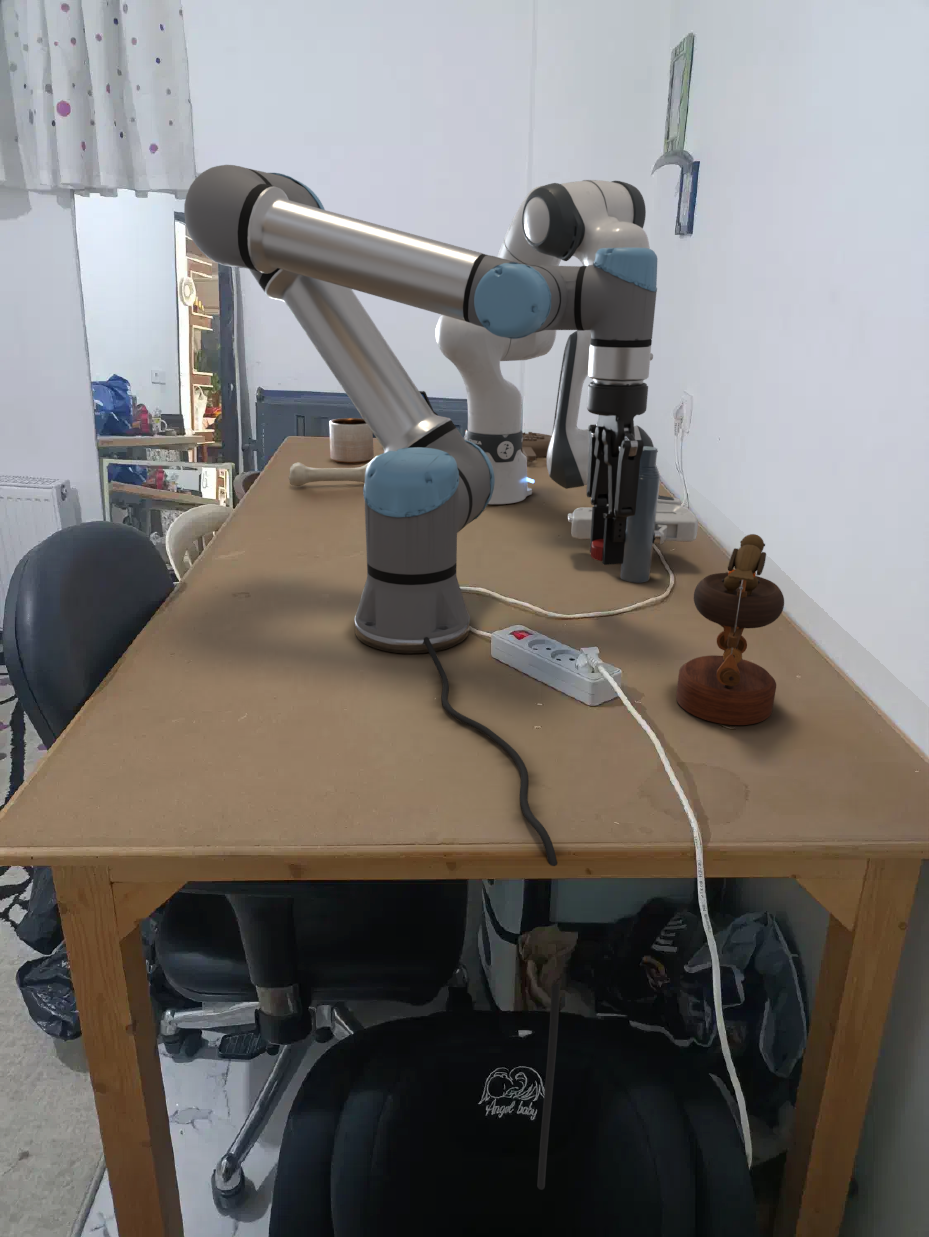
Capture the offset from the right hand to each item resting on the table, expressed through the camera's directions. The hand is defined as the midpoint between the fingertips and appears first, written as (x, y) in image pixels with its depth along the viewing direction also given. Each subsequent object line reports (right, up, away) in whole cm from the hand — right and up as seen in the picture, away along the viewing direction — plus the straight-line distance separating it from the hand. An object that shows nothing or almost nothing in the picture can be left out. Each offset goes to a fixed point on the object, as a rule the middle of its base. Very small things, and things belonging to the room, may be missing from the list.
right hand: (639, 538), depth 131 cm
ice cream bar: (-11, +31, +92) cm, 97 cm away
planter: (-56, +28, +83) cm, 104 cm away
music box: (+2, -22, -35) cm, 41 cm away
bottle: (0, -6, +3) cm, 7 cm away
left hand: (-8, -4, -16) cm, 18 cm away
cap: (-8, -2, -17) cm, 18 cm away
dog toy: (-56, +17, +57) cm, 82 cm away
